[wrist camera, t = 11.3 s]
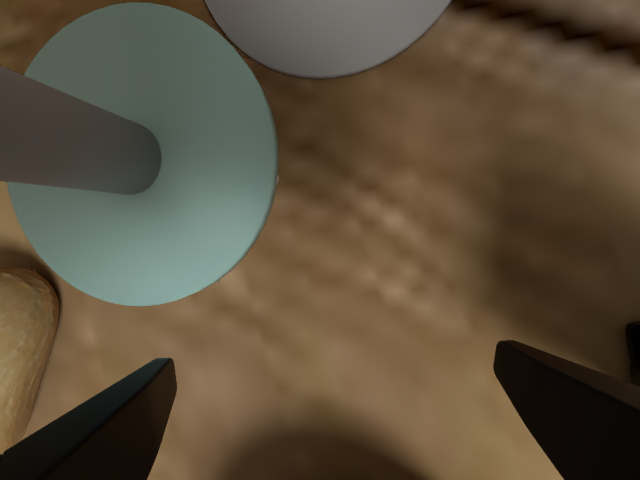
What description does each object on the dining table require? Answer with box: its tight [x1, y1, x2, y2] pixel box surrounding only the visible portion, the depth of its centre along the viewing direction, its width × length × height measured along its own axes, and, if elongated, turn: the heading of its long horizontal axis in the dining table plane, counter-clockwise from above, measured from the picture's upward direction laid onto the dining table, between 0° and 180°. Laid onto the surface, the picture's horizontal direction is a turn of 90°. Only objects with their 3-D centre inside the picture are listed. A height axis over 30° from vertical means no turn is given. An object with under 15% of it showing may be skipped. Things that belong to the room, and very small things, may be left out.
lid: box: [0, 2, 279, 306], centre depth 12 cm, size 15×15×9 cm
